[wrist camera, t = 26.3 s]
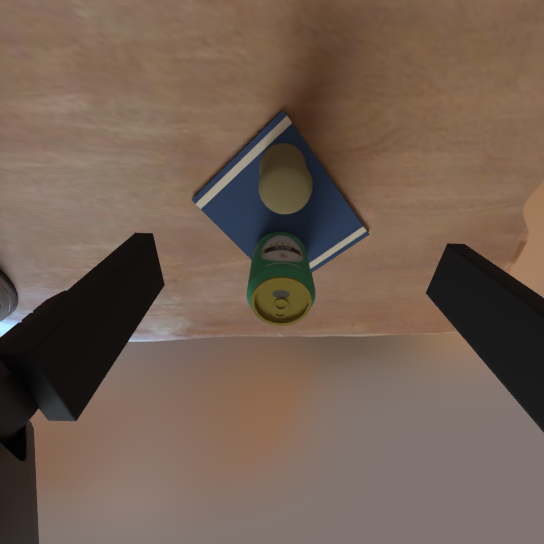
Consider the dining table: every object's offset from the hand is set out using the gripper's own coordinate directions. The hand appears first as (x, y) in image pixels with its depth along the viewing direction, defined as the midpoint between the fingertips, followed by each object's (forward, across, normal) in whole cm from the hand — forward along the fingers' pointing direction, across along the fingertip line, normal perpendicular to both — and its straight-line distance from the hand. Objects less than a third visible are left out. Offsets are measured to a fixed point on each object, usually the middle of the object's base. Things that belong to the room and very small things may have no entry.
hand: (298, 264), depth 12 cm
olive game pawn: (+24, 0, 0) cm, 24 cm away
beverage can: (+24, 0, -12) cm, 27 cm away
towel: (+25, 0, -6) cm, 26 cm away
